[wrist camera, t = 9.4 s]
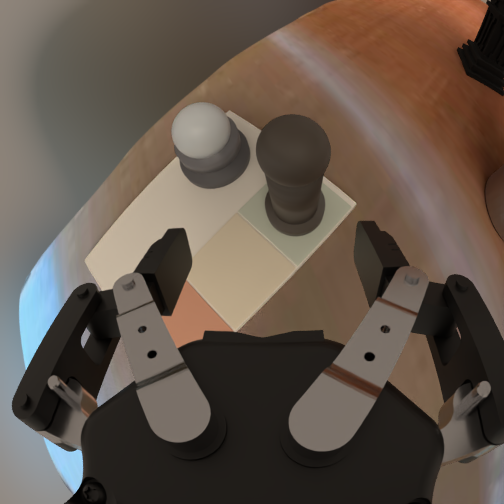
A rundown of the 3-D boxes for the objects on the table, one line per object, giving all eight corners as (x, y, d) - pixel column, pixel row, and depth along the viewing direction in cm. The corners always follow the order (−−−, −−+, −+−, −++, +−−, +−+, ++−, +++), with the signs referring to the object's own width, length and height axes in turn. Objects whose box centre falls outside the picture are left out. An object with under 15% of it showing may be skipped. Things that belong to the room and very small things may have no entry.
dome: (212, 113, 23) (197, 79, 19) (254, 141, 22) (243, 104, 17) (169, 152, 23) (145, 122, 18) (206, 185, 22) (184, 155, 17)
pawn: (292, 172, 23) (287, 82, 12) (335, 207, 22) (361, 128, 11) (254, 210, 23) (221, 134, 12) (297, 248, 22) (297, 192, 11)
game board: (231, 117, 27) (227, 104, 25) (353, 208, 23) (359, 198, 21) (91, 262, 26) (78, 258, 24) (181, 383, 22) (171, 390, 20)
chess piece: (456, 49, 25) (485, -30, 6) (491, 69, 23) (525, -2, 4) (466, 74, 24) (505, -14, 4) (502, 96, 22) (548, 20, 3)
